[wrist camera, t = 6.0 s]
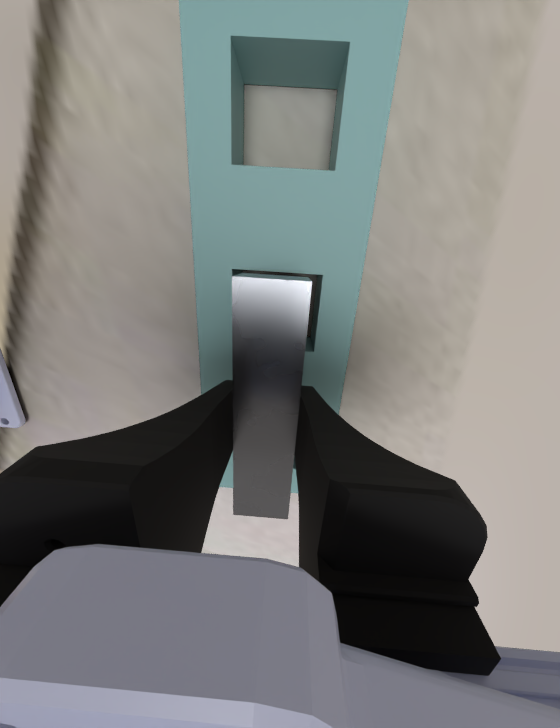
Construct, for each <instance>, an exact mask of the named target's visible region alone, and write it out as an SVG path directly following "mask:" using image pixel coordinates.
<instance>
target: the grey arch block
mask: <svg viewBox="0 0 560 728" xmlns="http://www.w3.org/2000/svg"><path fill="white" fill-rule="evenodd" d="M311 288H312V281H311V280H310V279H309V277H297V276H282V275H267V274H252V273H241V274H238V275H234V276H232V379H233V515H244V516H256V517H267V518H279V519H288V512H289V503H290V493H291V483H292V473H293V464H294V454H295V444H296V434H297V425H298V415H299V405H300V395H301V386H302V376H303V366H304V356H305V347H306V337H307V327H308V317H309V307H310V298H311Z"/></svg>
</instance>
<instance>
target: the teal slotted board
mask: <svg viewBox="0 0 560 728" xmlns="http://www.w3.org/2000/svg"><path fill="white" fill-rule="evenodd" d="M408 1H409V0H179V10H180V28H181V46H182V63H183V81H184V98H185V116H186V133H187V151H188V168H189V186H190V203H191V221H192V238H193V256H194V273H195V291H196V309H197V326H198V344H199V361H200V379H201V395H202V394H204V393H205V392H207V391H209V390H210V389H212V388H213V387H215V386H216V385H218V384H220V383H221V382H223V381H225V380H233V379H232V276H234V275H238V274H241V273H243V270H257V271H272V272H287V273H302V274H317V283H316V292H315V301H314V311H313V320H312V329H311V337H306V347H305V356H304V366H303V376H302V385H303V386H313V387H314V388H315V390H316V391H317V392H318V393H319V394H320V396H321V397H322V398H323V399H324V400H325V402H326V403H327V404H328V405H329V406H330V407H331V408H332V409H333V410H334V411H335V412H336V413H337V414H338V415H339V409H340V403H341V397H342V391H343V385H344V379H345V374H346V368H347V362H348V356H349V350H350V344H351V338H352V332H353V326H354V320H355V314H356V308H357V302H358V297H359V291H360V285H361V279H362V273H363V267H364V261H365V255H366V249H367V243H368V237H369V231H370V226H371V220H372V214H373V208H374V202H375V196H376V190H377V184H378V178H379V172H380V166H381V160H382V154H383V149H384V143H385V137H386V131H387V125H388V119H389V113H390V107H391V101H392V95H393V89H394V83H395V78H396V72H397V66H398V60H399V54H400V48H401V42H402V36H403V30H404V24H405V18H406V12H407V6H408ZM244 84H252V85H270V86H288V87H307V88H325V89H337V99H336V108H335V117H334V126H333V135H332V145H331V154H330V163H329V170H312V169H296V168H279V167H263V166H246V165H243V146H244ZM219 487H228V488H233V452H232V454H231V457H230V460H229V462H228V465H227V467H226V470H225V473H224V475H223V478H222V481H221V483H220V486H219ZM291 493H298V486H297V476H296V466H295V456H294V464H293V473H292V483H291Z"/></svg>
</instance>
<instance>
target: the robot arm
mask: <svg viewBox="0 0 560 728" xmlns="http://www.w3.org/2000/svg"><path fill="white" fill-rule="evenodd" d="M25 422H26V421H25V417H24V414H23V411H22V408H21V406H20V403H19V400H18V397H17V394H16V391H15V389H14V386H13V383H12V380H11V377H10V375H9V372H8V369H7V366H6V363H5V360H4V358H3V355H2V352H1V349H0V427H9V428H19V427H20V426H22V425H24V424H25ZM232 452H233V380H225V381H223V382H221V383H220V384H218V385H216V386H215V387H213V388H212V389H210V390H209V391H207V392H205V393H204V394H202V395H200V396H199V397H197V398H195V399H193V400H191V401H190V402H188V403H186V404H184V405H182V406H180V407H178V408H176V409H174V410H172V411H170V412H168V413H165V414H163V415H161V416H158V417H156V418H153V419H150V420H147V421H144V422H141V423H138V424H136V425H133V426H130V427H127V428H123V429H120V430H116V431H112V432H109V433H105V434H100V435H96V436H92V437H88V438H83V439H78V440H72V441H67V442H61V443H56V444H51V445H45V446H38V447H35V448H34V449H33V450H31V451H30V452H29V453H27V454H26V455H25V456H23V457H22V458H21V459H19V460H18V461H17V462H15V463H14V464H13V465H11V466H10V467H8V468H7V469H6V470H4V471H3V472H2V473H0V728H560V652H551V651H540V650H529V649H519V648H508V647H497V646H494V644H493V642H492V640H491V638H490V637H489V635H488V633H487V631H486V629H485V627H484V625H483V623H482V621H481V619H480V617H479V615H478V613H477V611H476V610H475V607H477V606H478V604H479V601H478V596H477V594H476V593H475V591H474V589H473V587H472V585H471V583H470V582H469V580H468V579H469V577H470V575H471V573H472V571H473V569H474V567H475V566H476V564H477V562H478V560H479V558H480V556H481V554H482V552H483V550H484V546H485V544H486V540H487V526H486V524H485V522H484V520H483V518H482V517H481V515H480V513H479V512H478V511H477V510H476V508H475V507H474V505H473V504H472V503H471V501H470V500H469V499H468V497H467V496H466V494H465V493H464V492H463V490H462V489H461V488H460V486H459V485H458V484H457V483H456V481H455V480H452V479H450V478H447V477H445V476H443V475H440V474H438V473H435V472H433V471H430V470H428V469H426V468H423V467H421V466H418V465H416V464H414V463H412V462H410V461H408V460H406V459H404V458H402V457H400V456H398V455H396V454H394V453H392V452H390V451H388V450H386V449H385V448H383V447H381V446H380V445H378V444H376V443H375V442H373V441H372V440H370V439H368V438H367V437H365V436H364V435H363V434H361V433H360V432H359V431H357V430H356V429H355V428H353V427H352V426H351V425H349V424H348V423H347V422H346V421H345V420H344V419H342V418H341V417H340V416H339V415H338V414H337V413H336V412H335V411H334V410H333V409H332V408H331V407H330V406H329V405H328V404H327V403H326V402H325V400H324V399H323V398H322V397H321V396H320V394H319V393H318V392H317V391H316V390H315V388H314V387H313V386H303V385H302V386H301V395H300V405H299V415H298V425H297V434H296V444H295V454H294V456H295V466H296V476H297V486H298V496H299V567H296V566H292V565H288V564H285V563H281V562H277V561H273V560H270V559H263V558H252V557H241V556H229V555H218V554H205V553H201V551H202V547H203V543H204V539H205V535H206V531H207V527H208V523H209V520H210V516H211V512H212V508H213V505H214V501H215V498H216V495H217V492H218V489H219V486H220V483H221V481H222V478H223V475H224V473H225V470H226V467H227V465H228V462H229V460H230V457H231V454H232Z"/></svg>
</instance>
